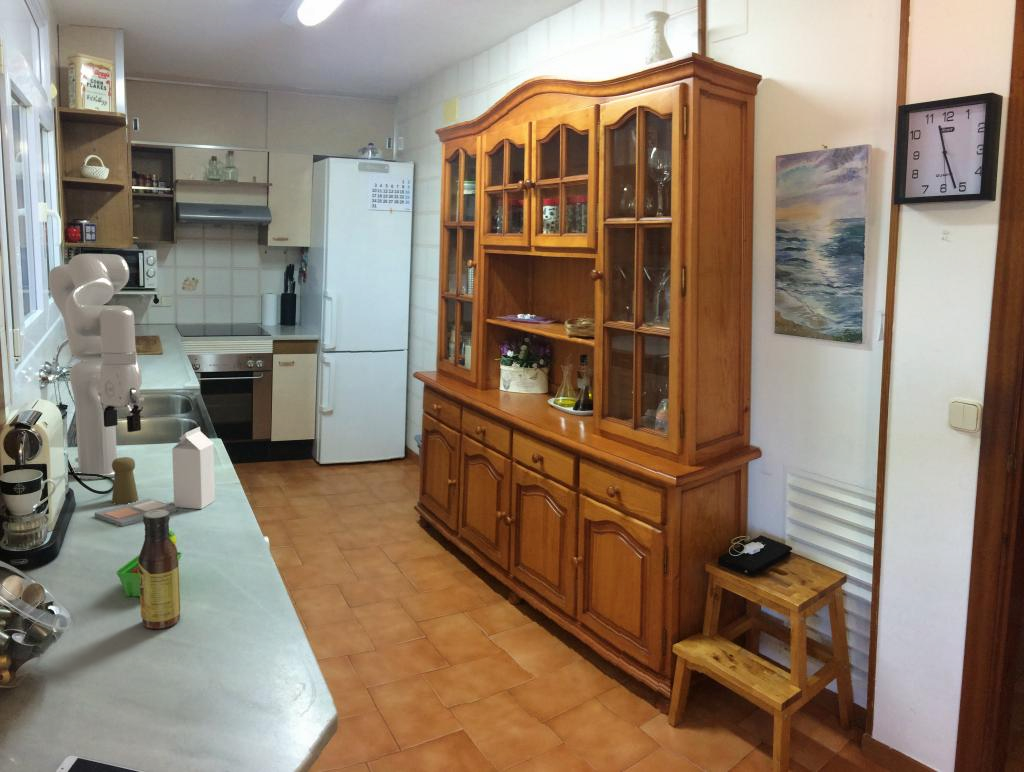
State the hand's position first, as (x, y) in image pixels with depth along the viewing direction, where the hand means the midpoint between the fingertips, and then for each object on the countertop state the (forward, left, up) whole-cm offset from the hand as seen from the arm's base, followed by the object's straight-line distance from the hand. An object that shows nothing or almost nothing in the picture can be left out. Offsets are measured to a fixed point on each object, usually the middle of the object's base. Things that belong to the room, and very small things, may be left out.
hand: (122, 428), depth 196 cm
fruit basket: (+50, -26, -19) cm, 60 cm away
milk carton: (+15, +9, -19) cm, 26 cm away
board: (+10, -4, -19) cm, 22 cm away
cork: (-1, 0, -19) cm, 19 cm away
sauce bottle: (+64, -34, -19) cm, 75 cm away
